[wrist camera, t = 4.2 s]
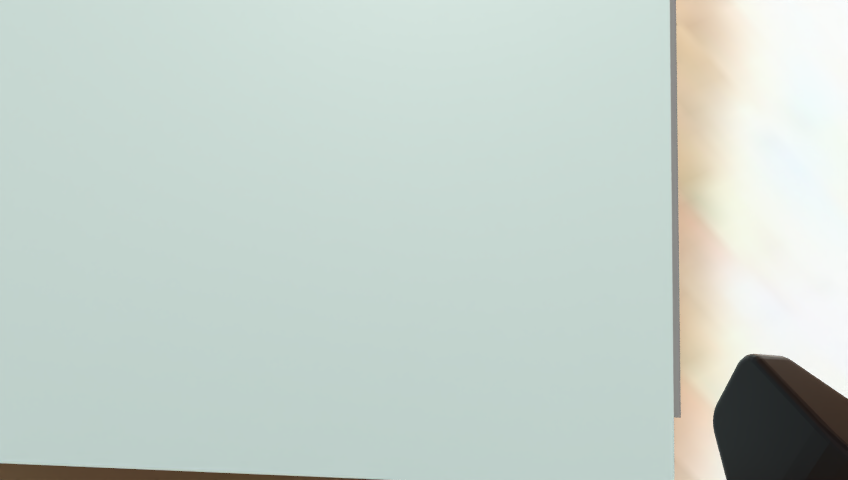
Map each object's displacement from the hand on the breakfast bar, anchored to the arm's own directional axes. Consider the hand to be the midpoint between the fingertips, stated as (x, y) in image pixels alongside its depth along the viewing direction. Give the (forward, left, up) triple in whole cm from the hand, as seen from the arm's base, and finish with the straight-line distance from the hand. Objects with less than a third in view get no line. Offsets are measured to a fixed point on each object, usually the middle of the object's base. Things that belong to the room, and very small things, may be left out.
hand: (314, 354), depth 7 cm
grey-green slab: (-1, -1, -6) cm, 6 cm away
